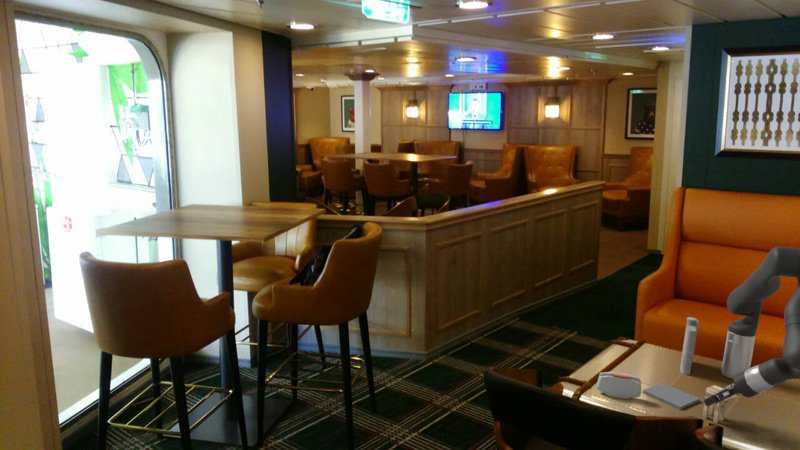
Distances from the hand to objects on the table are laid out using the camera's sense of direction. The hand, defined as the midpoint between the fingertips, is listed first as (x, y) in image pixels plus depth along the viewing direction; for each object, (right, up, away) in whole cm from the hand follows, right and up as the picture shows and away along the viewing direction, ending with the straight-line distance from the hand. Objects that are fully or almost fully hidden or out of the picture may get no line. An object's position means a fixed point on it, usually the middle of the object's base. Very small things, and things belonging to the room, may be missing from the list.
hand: (712, 400), depth 202 cm
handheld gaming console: (-26, -2, +13) cm, 29 cm away
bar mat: (-7, -3, +14) cm, 16 cm away
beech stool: (0, -6, 0) cm, 6 cm away
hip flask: (+10, +1, +41) cm, 42 cm away
